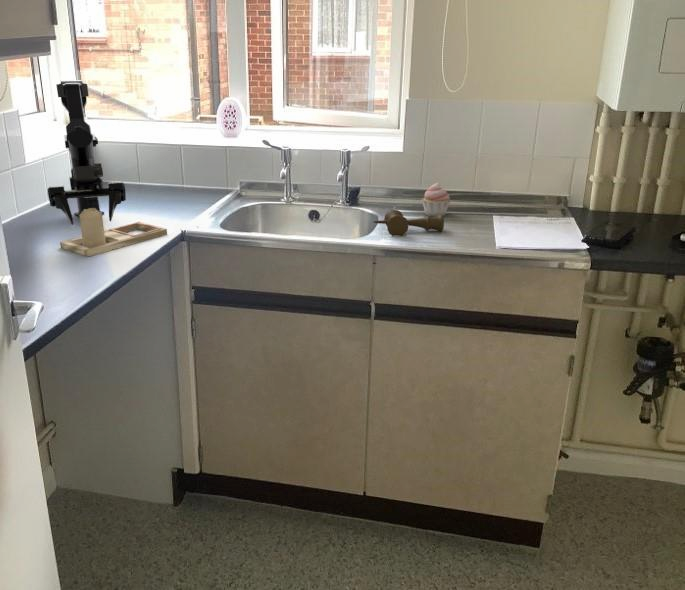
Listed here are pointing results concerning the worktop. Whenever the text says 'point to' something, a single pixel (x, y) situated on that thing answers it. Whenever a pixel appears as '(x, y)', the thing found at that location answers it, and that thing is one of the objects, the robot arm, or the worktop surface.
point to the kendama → (410, 223)
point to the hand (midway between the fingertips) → (91, 221)
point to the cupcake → (436, 201)
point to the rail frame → (115, 238)
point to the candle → (92, 228)
